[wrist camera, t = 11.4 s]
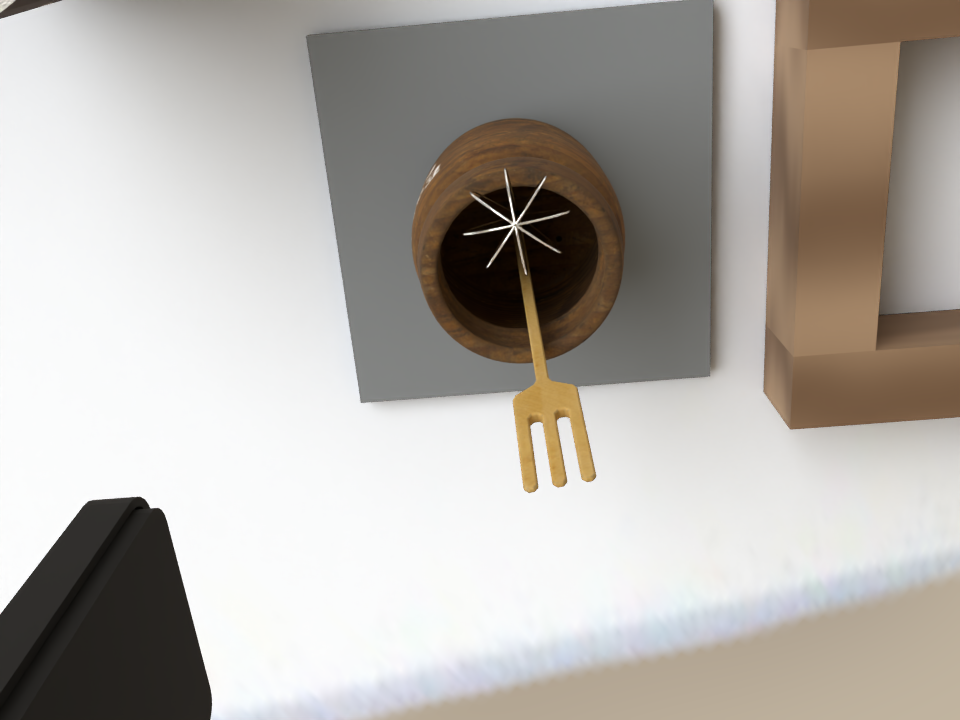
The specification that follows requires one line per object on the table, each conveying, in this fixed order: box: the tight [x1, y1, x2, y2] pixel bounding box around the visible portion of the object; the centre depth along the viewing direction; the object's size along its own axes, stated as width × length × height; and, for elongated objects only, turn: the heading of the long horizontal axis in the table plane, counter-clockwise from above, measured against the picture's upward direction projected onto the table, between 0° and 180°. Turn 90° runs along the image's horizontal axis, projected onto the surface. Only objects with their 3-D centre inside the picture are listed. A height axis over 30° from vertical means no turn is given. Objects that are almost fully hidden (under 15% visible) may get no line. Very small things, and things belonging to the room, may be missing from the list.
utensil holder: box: [412, 118, 625, 493], centre depth 23 cm, size 6×6×12 cm
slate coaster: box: [306, 0, 713, 403], centre depth 29 cm, size 12×12×1 cm
